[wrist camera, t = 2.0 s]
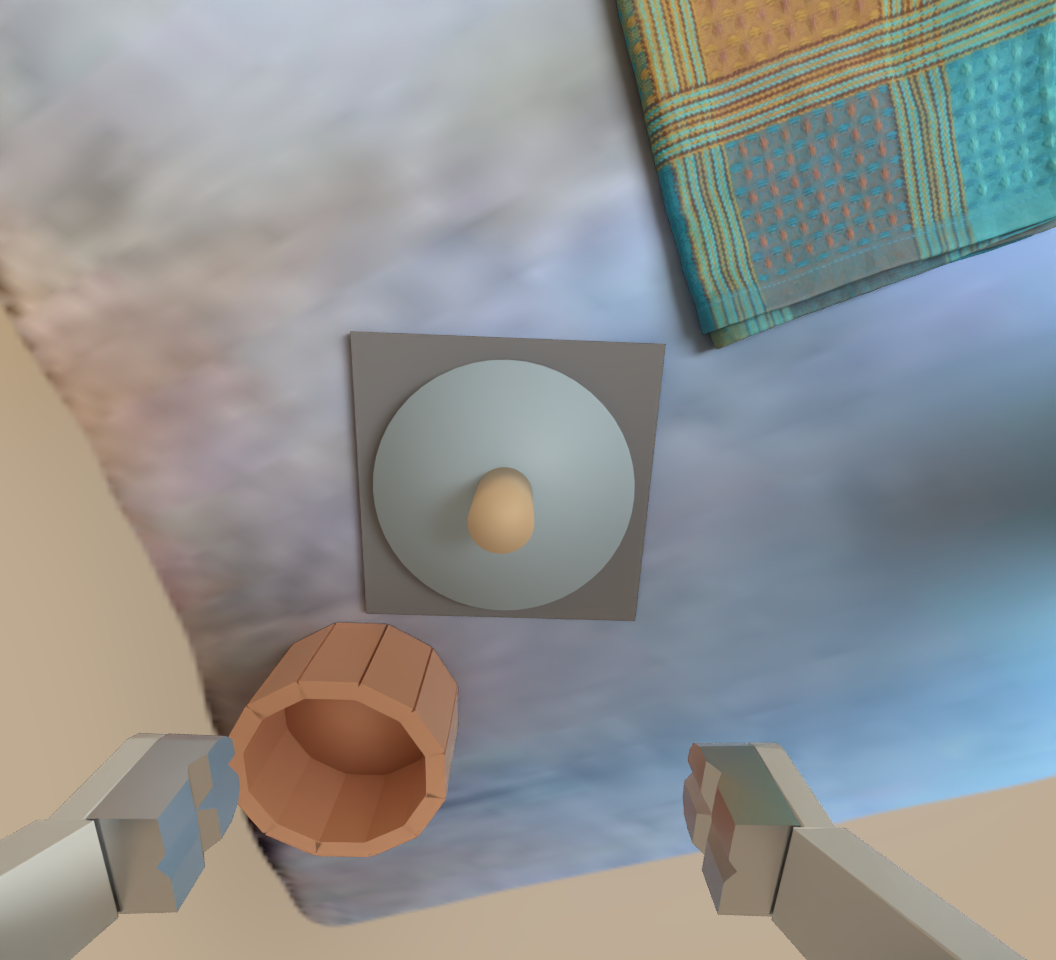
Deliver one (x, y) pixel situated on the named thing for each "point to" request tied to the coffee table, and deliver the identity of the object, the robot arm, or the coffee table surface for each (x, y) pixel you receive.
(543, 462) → the lid
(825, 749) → the coffee table surface
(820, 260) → the dish towel
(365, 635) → the bowl
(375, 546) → the mat
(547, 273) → the coffee table surface
